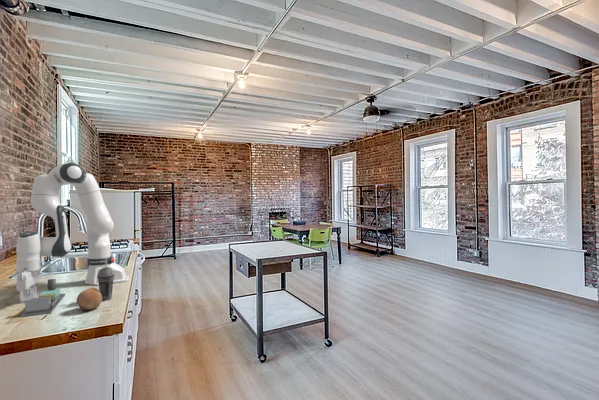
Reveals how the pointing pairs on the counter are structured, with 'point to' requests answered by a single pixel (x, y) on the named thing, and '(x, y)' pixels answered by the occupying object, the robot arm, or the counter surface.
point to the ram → (51, 290)
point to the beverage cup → (106, 282)
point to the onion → (89, 299)
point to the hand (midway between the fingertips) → (28, 295)
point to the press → (41, 305)
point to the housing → (32, 294)
